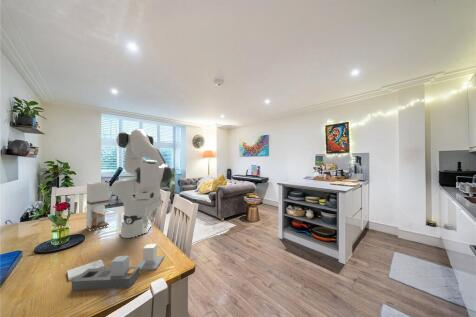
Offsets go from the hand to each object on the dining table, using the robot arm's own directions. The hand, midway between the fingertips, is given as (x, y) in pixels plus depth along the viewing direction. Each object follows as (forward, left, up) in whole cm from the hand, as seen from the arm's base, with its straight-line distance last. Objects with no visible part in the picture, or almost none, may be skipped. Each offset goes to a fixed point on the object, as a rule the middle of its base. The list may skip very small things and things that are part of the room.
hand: (150, 219), depth 85 cm
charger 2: (0, 0, -21) cm, 21 cm away
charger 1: (+12, -7, -18) cm, 23 cm away
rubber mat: (0, 0, -22) cm, 22 cm away
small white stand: (-53, -63, -22) cm, 85 cm away
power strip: (+12, -12, -22) cm, 28 cm away
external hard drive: (+3, -28, -22) cm, 36 cm away
